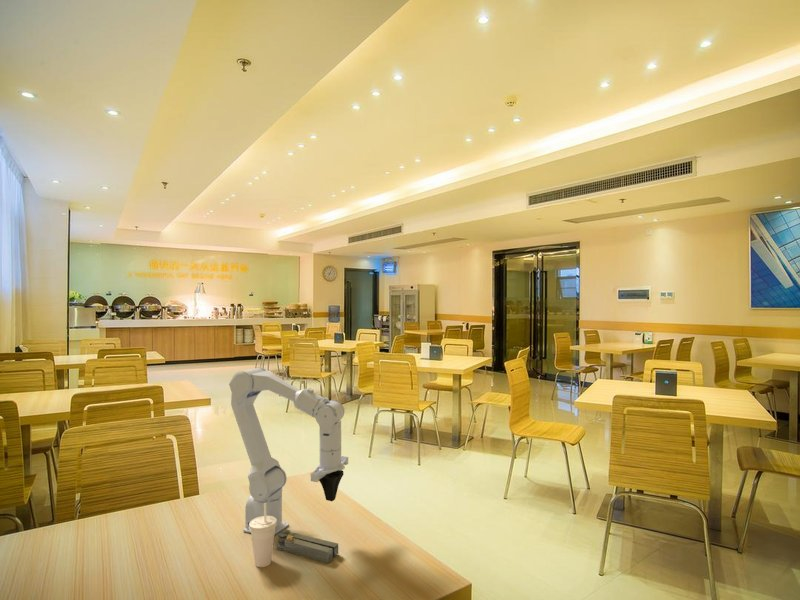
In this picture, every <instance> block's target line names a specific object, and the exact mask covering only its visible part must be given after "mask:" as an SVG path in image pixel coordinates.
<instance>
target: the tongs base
mask: <svg viewBox="0 0 800 600" xmlns="http://www.w3.org/2000/svg"><path fill="white" fill-rule="evenodd" d="M277 539H278V540H277V541H278V542H277V543H276V550H279V551H282V552H287V553H289V554H293V555H297V556H298V557H303V558H306V559H310V560H314V561H316V562H321V563H323V564H327V565H330V563H331V562H332V561H333V559H334V557H333V549H332V548H328V547H325V546H321V545H317V544H314V543H310V542H306V541H302V540H299V539H295V538H294V536H291V535H288V536H287V538H281V537H279V535H278V538H277Z"/></svg>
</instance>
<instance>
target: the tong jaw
mask: <svg viewBox="0 0 800 600" xmlns="http://www.w3.org/2000/svg"><path fill="white" fill-rule="evenodd" d="M288 535H291V536H294V538H295V539H299V540H302V541H306V542H310V543H314V544H317V545H321V546H325V547H328V548H332V549H333V559H334V558H335V557H337V556H338V555H339V543H337V542H333V541H330V540H326V539H325V540H324V539H321V538H316V537H312V536H308V535H304V534H300V533H297V532H291V530H290V529H283V530H281V531H280V532H278V536H279V537H281V538H287V536H288Z"/></svg>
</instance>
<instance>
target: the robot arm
mask: <svg viewBox="0 0 800 600" xmlns="http://www.w3.org/2000/svg"><path fill="white" fill-rule="evenodd" d="M228 385H229V388H230V393H231V399H230V400H231V401H230V404H231V405H230V406H231V408H232V411H233V414H234V418H235V420H236V422H237V426H238V429H239V432H240V436H241V438H242V441H243V444H244V445H243V446H244V448H245V450H246V453H247V456H248V459H249V461H250V462H249V463H250V465H251V467H250V470H249V472H248V476H247V478H248V481H249V487H248V489H249V494H250V496H249V497H248V499H247V500H246V503H245V515H244V518H245V522H244V523H245V527H244V528H243V529H242V531H243V532H245V533H249V534H251V530H250V529H249V523H250V522H251V521H252V520H253V519H255V518H257V517H261V516H264V503H266V516H273V517H275V518H276V519H277V525H276V527H275V534H274V536H275V535H276V534H279V532H280V531H282V530H285V528H287V527H288V526H290V523H289V522H286V521H285V522H284V521H283V487H284V486H285V485H286V484H287V480H288V479H287V474H286V472H285V470H284V469H283V468H282V467H281V465H280V461H278V460H277V459H275V458H273V457H272V455H271V452H270V449H269V447H268V443H267V441H266V438H265V434H264V432H263V428H262V426H261V422H260V421H259V417H258V415H257V414H258V413H257V411H256V409H255V406H254V403H255V401H256V399H257V398H258V396H259V394H260V393H261V392H263V391H269V392H272V393H274V394H276V395H278V396H281V397H282V398H285V399H287V400H289V401H292V402H293V405H294V408H295V409H297V410H299V411H301V412H303V413H305V414H306V415H308V416H311V417H312V418H314V419H315V420H316V423H317V424H318V427H319V464H318V466H317V467H316V468H315V470H314V471H312V472H311V473H310V482H314V483H320V484H321V487H322V490H323V493H324V497H325V500H326V501H329V502H333V501H335V500H336V497H337V495H338V494H337V493H338V488H339V485H340V483H341V479H342V478H343V476H344V470H346V469H345V468H346V467H345V466H346V465H349V456H345V455H342V419H343V418H344V415H345V408H344V406H343V404H342V402H340V401H339V400H338V399H331V400H329V399H330V398H328V397H327V396H325V397H324V396H321V395H320V394H318V393H316V392H315V390H314V389H312V388H302V389H299V388H297V387H296V386H294V385H292V384H291V383H289V382H287V381H286V380H283V379H282V378H280V377H279V376H277V375H275V374H274V373H273V372H272V371H270V370H269V369H266V368H264V367H262V366H258V367H255V368H250V369H246V370H241V371H238V372H236V373H234V374H233V376H232V378H231V379H230V382H229V384H228Z"/></svg>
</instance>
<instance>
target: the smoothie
mask: <svg viewBox="0 0 800 600" xmlns="http://www.w3.org/2000/svg"><path fill="white" fill-rule="evenodd" d="M276 525H277V519H276V518H275V517H273V516H266V503H264V516H261V517H257V518H255V519H253V520H252V521H251V522H250V523H249V529H250V530H251V533H250V536H251V543H252V544H251V545H252V551H253V560H254V565H255V566H256V568H257V567H258V568H264V567H267V566H270V565H271V563H272V557H273V550H274V541H275V535H276V534H275V527H276ZM274 534H275V535H274Z"/></svg>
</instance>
